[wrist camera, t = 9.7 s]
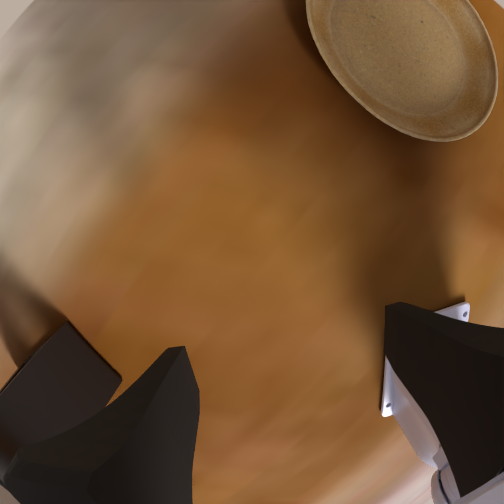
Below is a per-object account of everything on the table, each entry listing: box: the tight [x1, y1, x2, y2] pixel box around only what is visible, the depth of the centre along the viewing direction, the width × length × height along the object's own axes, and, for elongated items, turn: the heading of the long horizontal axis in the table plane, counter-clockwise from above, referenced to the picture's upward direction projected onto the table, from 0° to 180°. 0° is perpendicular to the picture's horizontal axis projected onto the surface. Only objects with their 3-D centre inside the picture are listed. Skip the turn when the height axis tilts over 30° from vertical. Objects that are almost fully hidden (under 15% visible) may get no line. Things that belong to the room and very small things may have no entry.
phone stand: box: [0, 322, 122, 491], centre depth 15 cm, size 9×6×12 cm, turn 126°
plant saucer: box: [306, 0, 498, 142], centre depth 15 cm, size 15×15×3 cm
